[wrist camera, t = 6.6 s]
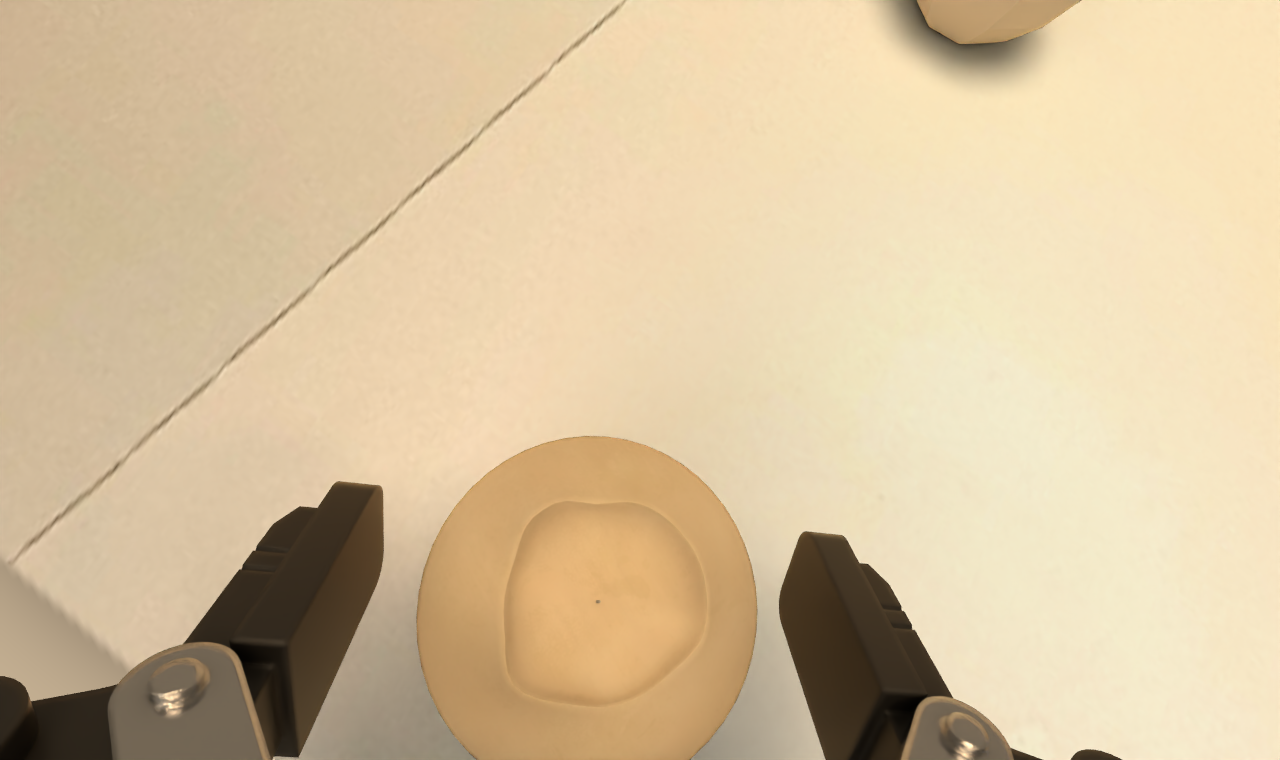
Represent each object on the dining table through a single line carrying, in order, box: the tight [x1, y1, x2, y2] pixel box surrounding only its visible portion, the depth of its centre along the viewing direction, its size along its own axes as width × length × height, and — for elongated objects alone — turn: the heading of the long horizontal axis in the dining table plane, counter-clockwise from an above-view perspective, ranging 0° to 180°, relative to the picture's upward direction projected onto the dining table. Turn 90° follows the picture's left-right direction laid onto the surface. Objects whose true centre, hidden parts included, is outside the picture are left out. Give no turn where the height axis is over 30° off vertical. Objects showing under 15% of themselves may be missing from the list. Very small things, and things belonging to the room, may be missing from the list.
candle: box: [416, 436, 757, 760], centre depth 13 cm, size 6×6×10 cm
